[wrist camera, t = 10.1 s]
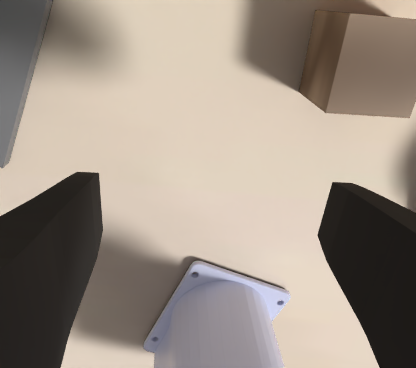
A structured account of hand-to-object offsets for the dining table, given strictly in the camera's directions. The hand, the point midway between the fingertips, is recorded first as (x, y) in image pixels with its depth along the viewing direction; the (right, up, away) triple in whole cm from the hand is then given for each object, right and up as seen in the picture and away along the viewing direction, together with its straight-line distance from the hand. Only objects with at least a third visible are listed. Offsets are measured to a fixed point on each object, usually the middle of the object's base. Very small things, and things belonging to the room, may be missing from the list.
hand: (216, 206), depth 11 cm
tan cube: (+7, +7, +7) cm, 13 cm away
